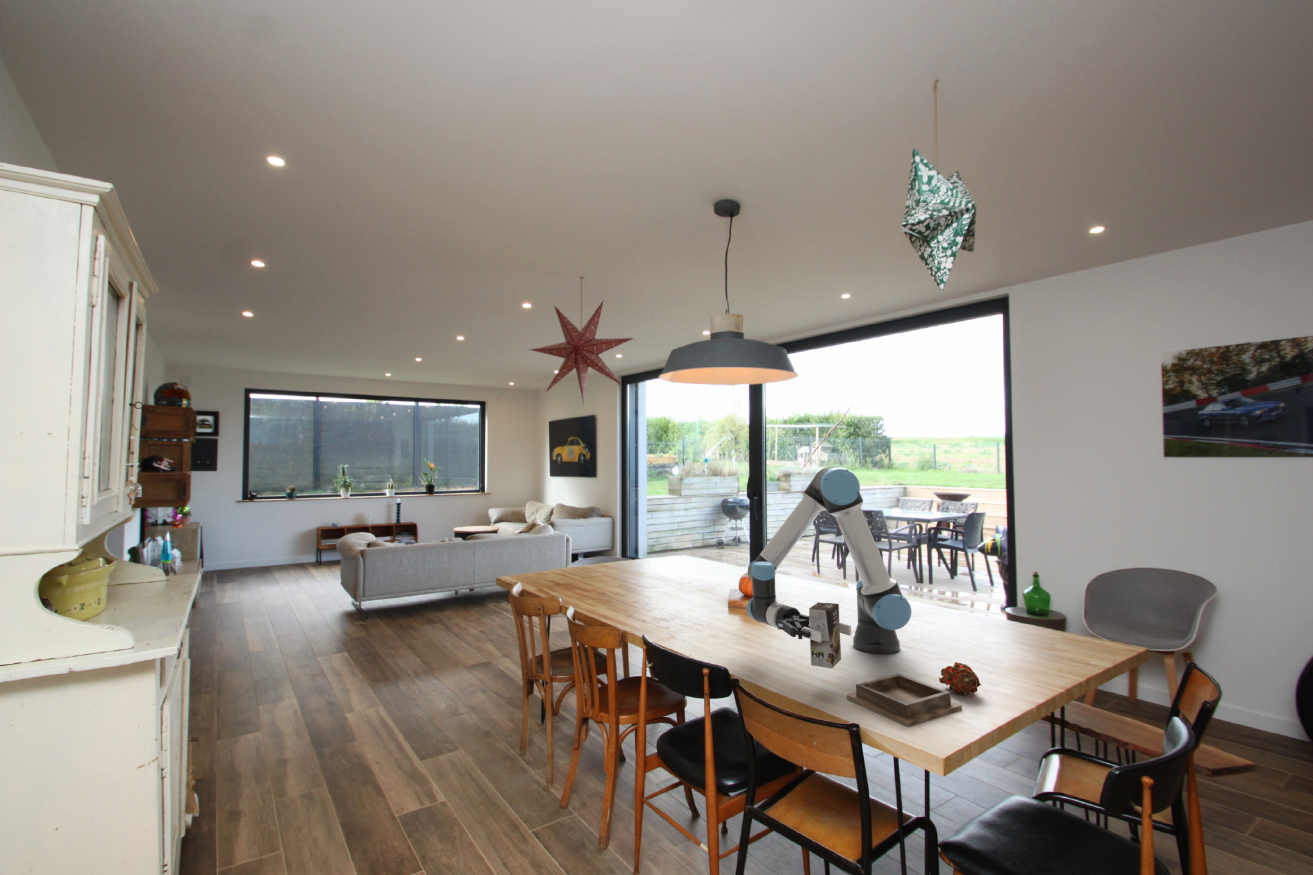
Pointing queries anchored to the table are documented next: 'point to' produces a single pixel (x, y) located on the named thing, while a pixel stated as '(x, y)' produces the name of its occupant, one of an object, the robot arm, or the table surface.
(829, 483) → the robot arm
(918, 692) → the holder
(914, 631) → the table surface
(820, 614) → the coffee box
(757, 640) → the table surface
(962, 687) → the dragon fruit
